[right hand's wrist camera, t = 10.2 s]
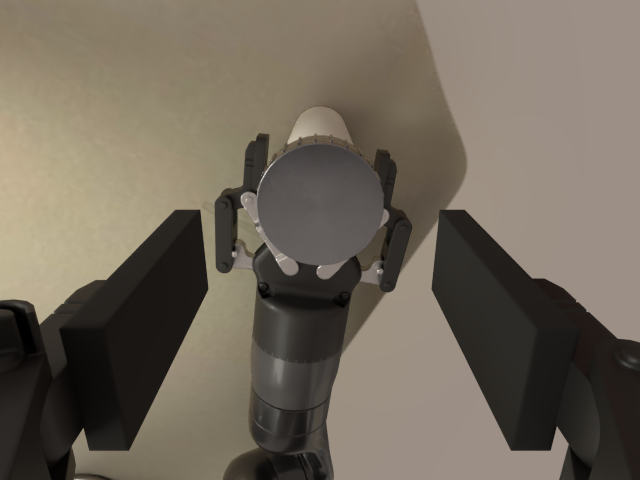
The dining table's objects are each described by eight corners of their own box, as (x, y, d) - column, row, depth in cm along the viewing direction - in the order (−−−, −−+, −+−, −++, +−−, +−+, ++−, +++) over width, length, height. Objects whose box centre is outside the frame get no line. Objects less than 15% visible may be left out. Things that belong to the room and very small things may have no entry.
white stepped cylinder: (290, 108, 36) (260, 155, 18) (345, 104, 36) (371, 147, 18) (296, 162, 38) (273, 256, 19) (347, 158, 38) (374, 249, 19)
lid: (253, 137, 19) (245, 146, 17) (378, 128, 19) (384, 135, 17) (267, 252, 21) (262, 271, 19) (380, 244, 21) (387, 262, 19)
